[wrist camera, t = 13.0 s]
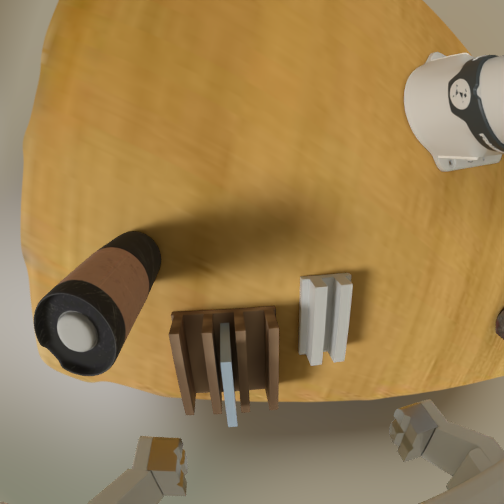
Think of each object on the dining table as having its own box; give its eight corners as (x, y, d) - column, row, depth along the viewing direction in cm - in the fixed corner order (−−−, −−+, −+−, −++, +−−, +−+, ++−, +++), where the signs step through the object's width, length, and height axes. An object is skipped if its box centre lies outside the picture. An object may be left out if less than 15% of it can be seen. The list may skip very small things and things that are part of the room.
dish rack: (274, 305, 43) (282, 327, 37) (274, 383, 47) (280, 409, 41) (172, 312, 42) (165, 334, 36) (186, 389, 46) (183, 415, 40)
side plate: (229, 322, 42) (231, 361, 33) (234, 384, 45) (237, 426, 36) (220, 323, 42) (220, 362, 33) (226, 384, 45) (228, 427, 36)
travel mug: (165, 232, 39) (116, 300, 19) (161, 288, 41) (122, 386, 22) (109, 225, 38) (25, 283, 18) (108, 280, 40) (40, 366, 21)
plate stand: (348, 272, 42) (359, 283, 39) (341, 345, 46) (350, 359, 42) (300, 276, 42) (307, 288, 38) (297, 351, 45) (303, 366, 41)
